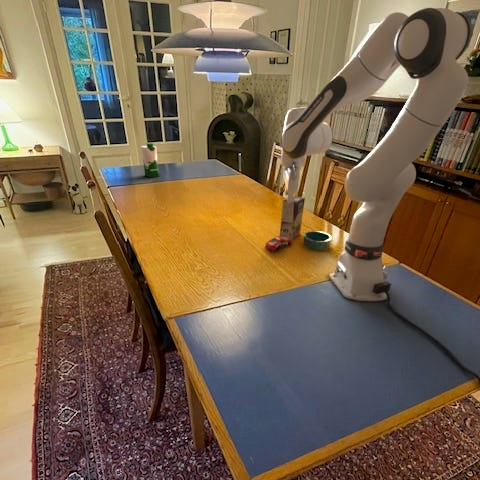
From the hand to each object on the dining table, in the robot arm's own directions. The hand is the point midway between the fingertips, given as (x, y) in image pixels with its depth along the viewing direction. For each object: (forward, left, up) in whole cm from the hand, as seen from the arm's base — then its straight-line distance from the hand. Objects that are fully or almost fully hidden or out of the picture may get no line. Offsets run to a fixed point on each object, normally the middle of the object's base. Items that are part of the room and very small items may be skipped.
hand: (288, 198), depth 132 cm
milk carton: (+110, +81, -20) cm, 138 cm away
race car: (-1, +2, -20) cm, 20 cm away
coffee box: (+12, -4, -20) cm, 24 cm away
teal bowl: (+1, -14, -20) cm, 24 cm away
